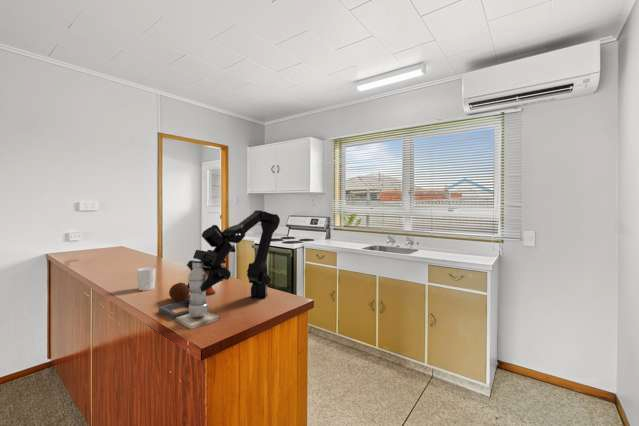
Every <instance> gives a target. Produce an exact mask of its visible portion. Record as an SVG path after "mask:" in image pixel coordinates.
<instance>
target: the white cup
mask: <svg viewBox="0 0 639 426" xmlns="http://www.w3.org/2000/svg"><path fill="white" fill-rule="evenodd" d="M156 270H157V269H156V267H153V266H146V267H140V268H137V270H136V271H137V272H136V273H137V274H136V275H137V285H138V290H139V291H140V290H142V292H143V291H145V290H146V291H151V289H152V290H154V289H155V285H156V283H155V282H156Z"/></svg>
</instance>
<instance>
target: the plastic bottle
mask: <svg viewBox="0 0 639 426" xmlns="http://www.w3.org/2000/svg"><path fill="white" fill-rule="evenodd" d="M194 261H195V262H193V266H192V268H193V270H192V271H191V270H190V272H189V274H188V276H187V280H188V282H189V287H190V288H189V289H190V292H189V299H190V304H189V306H188V309H187V310H188V312H189V315H190V317H193V318H199V317H203V316H205V315H206V314H207V311H208V312H209V307H208V306H209V305H208V303H207V295H206V290H205V291H203V292H202V291H201V288H202V286H203V284H204V283H205V281H206V280H207V273H206V272H205V270H204V269H203V267H204V264H203V261H201V260H194Z"/></svg>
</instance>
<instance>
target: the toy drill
mask: <svg viewBox="0 0 639 426" xmlns="http://www.w3.org/2000/svg"><path fill="white" fill-rule="evenodd" d="M205 272H206V271H205ZM206 273H207V278H208V276H209V272H206ZM215 294H216V290H214V288H213V286H211V287H210V288H208V289H207V290H206V296H213V295H215Z"/></svg>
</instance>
